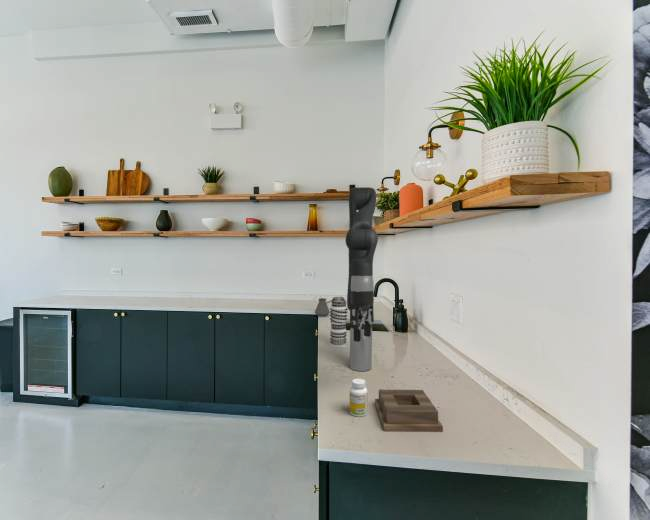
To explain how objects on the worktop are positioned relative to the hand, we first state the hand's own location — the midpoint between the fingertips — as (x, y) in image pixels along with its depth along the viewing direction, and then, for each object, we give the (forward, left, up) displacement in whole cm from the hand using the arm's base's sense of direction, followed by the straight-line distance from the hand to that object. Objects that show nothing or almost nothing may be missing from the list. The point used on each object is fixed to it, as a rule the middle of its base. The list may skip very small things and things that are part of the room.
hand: (362, 338), depth 105 cm
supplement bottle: (+9, -2, -21) cm, 22 cm away
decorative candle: (-62, -5, -20) cm, 66 cm away
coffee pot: (-139, -9, -21) cm, 141 cm away
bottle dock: (+11, +12, -20) cm, 26 cm away
